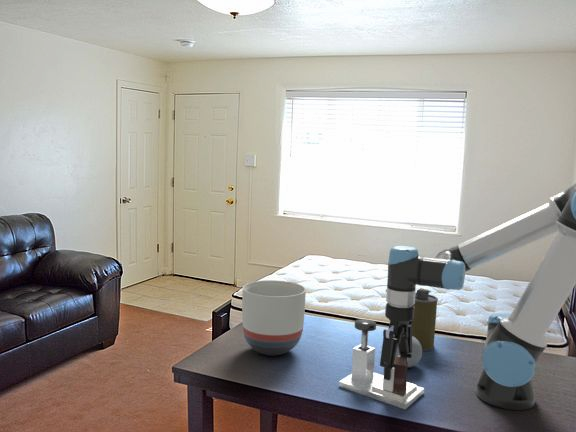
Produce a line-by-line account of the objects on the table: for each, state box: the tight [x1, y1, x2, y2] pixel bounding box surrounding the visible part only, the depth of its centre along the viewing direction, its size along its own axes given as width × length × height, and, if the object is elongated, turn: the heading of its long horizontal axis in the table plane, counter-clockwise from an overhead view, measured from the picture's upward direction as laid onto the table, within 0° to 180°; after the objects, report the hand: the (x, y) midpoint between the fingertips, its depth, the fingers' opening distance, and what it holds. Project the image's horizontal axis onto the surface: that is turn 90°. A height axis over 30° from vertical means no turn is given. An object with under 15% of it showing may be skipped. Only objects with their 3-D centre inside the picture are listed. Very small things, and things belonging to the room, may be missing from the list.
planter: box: [241, 279, 307, 356], centre depth 166 cm, size 20×20×21 cm
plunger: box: [354, 318, 377, 351], centre depth 145 cm, size 6×6×13 cm
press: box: [338, 343, 425, 410], centre depth 142 cm, size 20×12×10 cm, turn 53°
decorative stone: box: [394, 336, 423, 368], centre depth 159 cm, size 10×10×10 cm
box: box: [393, 356, 409, 391], centre depth 139 cm, size 6×6×7 cm
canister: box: [412, 287, 439, 352], centre depth 177 cm, size 11×10×20 cm
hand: (394, 384), depth 140 cm, fingers closed on box, 8 cm apart
